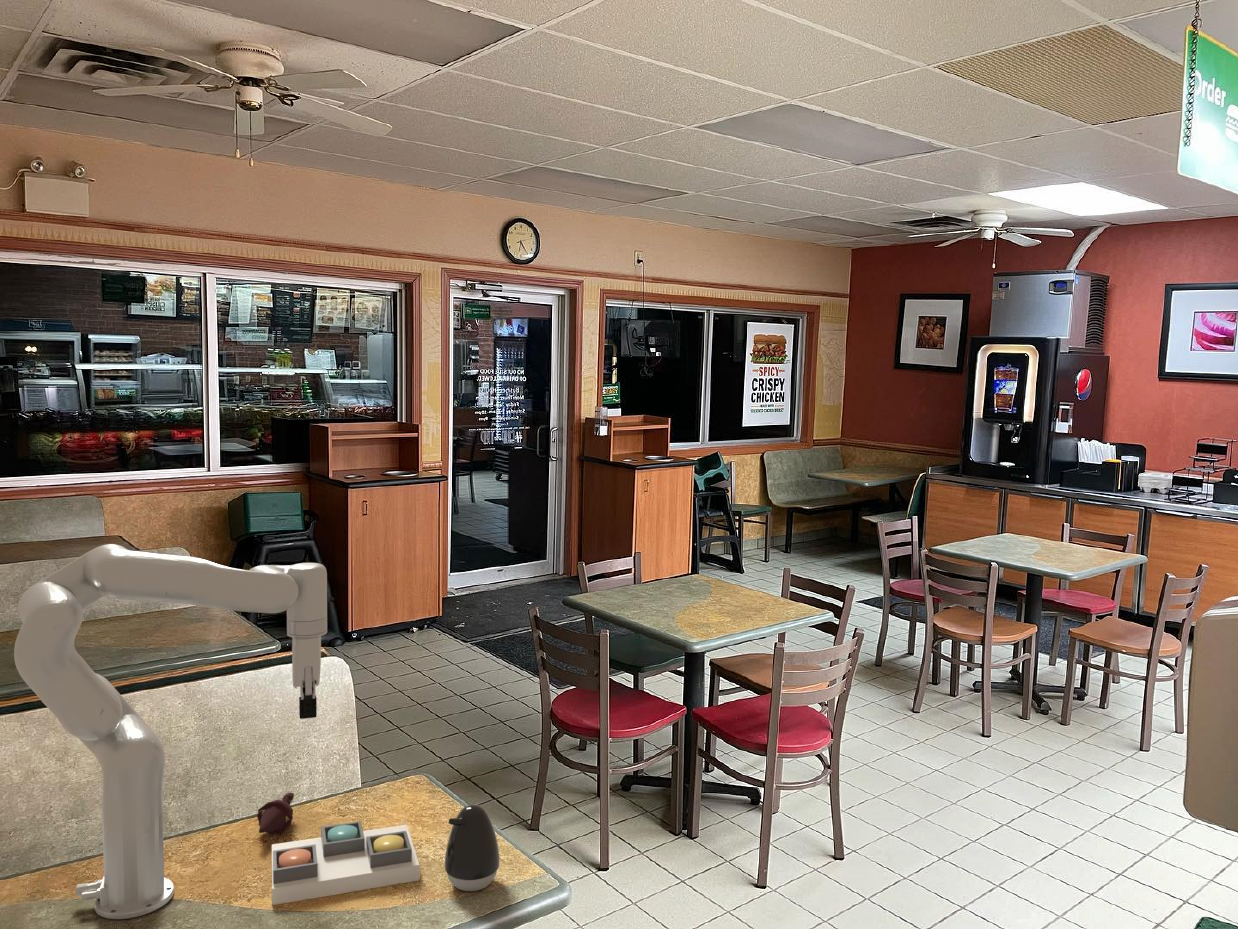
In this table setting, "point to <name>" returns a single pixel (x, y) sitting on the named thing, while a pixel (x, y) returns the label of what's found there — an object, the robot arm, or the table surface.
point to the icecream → (276, 815)
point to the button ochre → (388, 843)
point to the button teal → (342, 833)
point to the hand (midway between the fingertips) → (308, 716)
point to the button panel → (343, 865)
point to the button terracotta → (294, 858)
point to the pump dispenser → (472, 850)
